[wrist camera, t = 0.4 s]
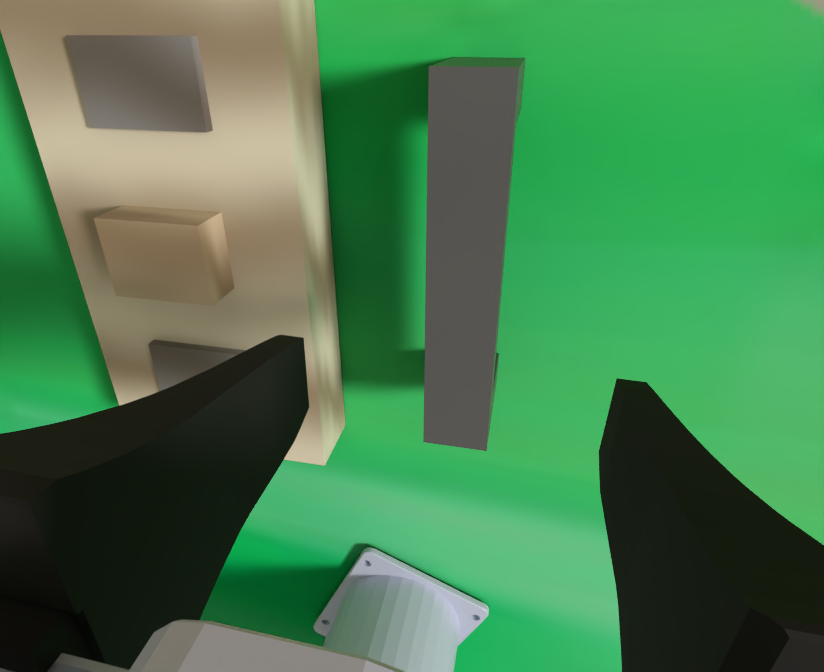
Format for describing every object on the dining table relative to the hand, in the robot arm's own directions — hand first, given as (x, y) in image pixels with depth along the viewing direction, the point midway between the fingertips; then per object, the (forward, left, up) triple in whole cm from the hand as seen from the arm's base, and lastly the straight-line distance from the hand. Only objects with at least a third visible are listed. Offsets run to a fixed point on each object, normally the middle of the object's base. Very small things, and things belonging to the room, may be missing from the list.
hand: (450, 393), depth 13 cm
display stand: (-5, +10, -10) cm, 15 cm away
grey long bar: (0, 0, -10) cm, 10 cm away
